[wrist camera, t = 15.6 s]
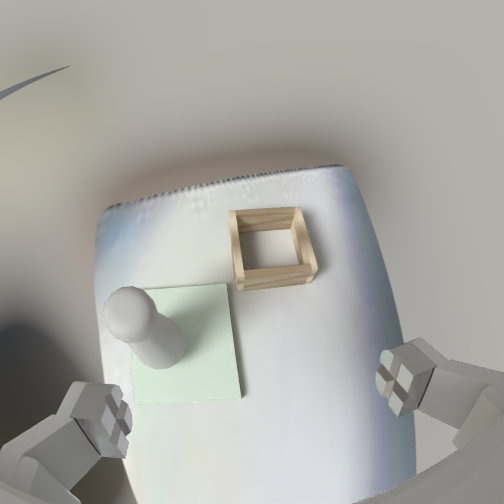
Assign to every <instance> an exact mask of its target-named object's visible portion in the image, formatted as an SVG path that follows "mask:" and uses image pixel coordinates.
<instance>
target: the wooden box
mask: <svg viewBox="0 0 504 504" xmlns="http://www.w3.org/2000/svg"><path fill="white" fill-rule="evenodd" d="M281 229H290V230H291V234H292V237H293V241H294V245H295V249H296V253H297V257H298V261H299V265H294V266H284V267H274V268H264V269H253V270H244V269H243V262H242V255H241V248H240V241H239V234H238V233H241V232H254V231H268V230H281ZM229 234H230V243H231V251H232V259H233V267H234V275H235V282H236V290H237V291H246V290H256V289H265V288H274V287H283V286H292V285H300V284H308V283H311V281H312V279H313V277H314V276H315V274H316V272H317V271H318V265H317V262H316V258H315V255H314V251H313V248H312V245H311V241H310V238H309V235H308V231H307V228H306V225H305V221H304V218H303V215H302V212H301V209H300V207H281V208H263V209H247V210H233V211H229Z"/></svg>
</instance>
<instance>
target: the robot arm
mask: <svg viewBox="0 0 504 504" xmlns="http://www.w3.org/2000/svg"><path fill="white" fill-rule="evenodd" d="M380 362H381V363H382V365H381V366H380V367H379V369H378V370H377V373H376V377H375V380H376V386H377V389H378V391H379V393H380V394H381V395H382V396H383V397H386V398H388V399H389V402H388V405H389V406H390V407H391V409H392V410H393V411H394V413H395V414H396V415H397V417H399V416H401V415H404V414H406V413H409V412H411V411H413V410H416V409H418V410H419V411H422V412H423V413H426V414H428V415H430V416H432V417H434V418H436V419H438V420H440V421H442V422H444V423H446V424H449V425H451V426H453V427H455V428H457V429H460V430H459V431H458V433H457V435H456V436H455V437H454V439H453V443H454V445H455V446H456V447H457V448H458V450H457V451H455V452H454V453H452V454H451V455H449V456H448V457H446V458H445V459H443V460H441V461H440V462H439V463H437V464H435V465H434V466H432V467H430V468H428V469H426V470H425V471H423V472H421V473H419V474H418V475H416V476H414V477H412V478H410V479H408V480H406V481H404V482H402V483H400V484H398V485H396V486H394V487H392V488H390V489H387V490H385V491H383V492H381V493H378V494H376V495H373V496H371V497H369V498H366V499H363V500H361V501H358V502H355V503H353V504H504V373H503V372H499V371H495V370H491V369H487V368H482V367H478V366H474V365H470V364H466V363H463V362H459V361H454V360H450V361H448V360H447V359H446V358H445V357H444V356H442V355H441V354H440V353H439V352H438V351H437V350H435V349H434V348H433V347H432V346H431V345H429V344H428V343H427V342H426V341H425V340H424V339H421V338H417V339H415V340H412V341H409V342H407V343H404V344H401V345H398V346H395V347H392V348H388V349H385V350H383V352H382V353H381V356H380ZM122 396H123V393H122V391H121V389H120V386H118V385H114V384H101V383H90V382H89V383H86V382H77V381H76V382H74V383H72V385H71V387H70V388H69V390H68V392H67V394H66V396H65V398H64V400H63V402H62V404H61V406H60V408H59V410H58V412H57V414H56V415H51V416H49V417H48V418H46V419H45V420H43V421H41V422H40V423H38V424H37V425H35V426H34V427H32V428H30V429H29V430H27V431H26V432H24V433H23V434H21V435H19V436H18V437H16V438H15V439H13V440H11V441H10V442H8V443H7V444H5V445H4V446H3V447H2V449H1V451H0V504H81V502H80V501H79V500H78V499H77V498H76V497H75V496H74V495H72V494H71V493H70V492H69V490H70V489H71V488H72V487H73V486H74V485H75V484H76V483H77V482H78V481H79V480H80V479H81V478H82V477H83V476H84V475H85V474H86V473H87V471H89V470H90V469H91V467H92V466H93V465H94V464H95V463H96V462H97V461H98V460H99V459H100V458H101V456H105V457H114V458H126V453H127V448H128V444H129V442H128V440H127V439H126V437H125V436H127V435H128V434H129V433H130V432H131V429H132V414H131V410H130V408H129V406H128V404H127V403H126V402H124V401H123V400H122Z"/></svg>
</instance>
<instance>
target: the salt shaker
mask: <svg viewBox="0 0 504 504" xmlns="http://www.w3.org/2000/svg"><path fill="white" fill-rule="evenodd" d="M103 318H104V323H105V326H106V327H107V329H108V330H109V331H110V332H111V334H112V335H113V336H114V337H115V338H117V339H119V340H121V341H123V342H126V343H128V344H129V346H130V347H131V349H132V350H133V352H134V353H135V355H136V357H137V358H138V359H139V360H140V361H141V362H142V363H143V364H144V365H146V366H148V367H150V368H153V369H155V370H158V369H167V368H170V367H172V366H173V365H175V364H177V363H178V362H179V361H180V359H181V357H182V356H183V354H184V351H185V342H186V340H185V337H184V335H183V332H182V329H181V328H180V327H179V326H178V325H177V324H176V323H175V322H174V321H173V320H171V319H169V318H167V317H166V316H164V315H162V314H161V313H159V312H158V311H157V308H156V305H155V302H154V300H153V299H152V298H151V297H150V296H149V295H148V294H147V293H146V292H145V291H144V290H142V289H139V288H136V287H133V286H131V287H121V288H120V289H118V290H117V291H115V292H113V293H112V294H111V295H110V297H109V298H108V299H107V301H106V302H105V306H104V311H103Z"/></svg>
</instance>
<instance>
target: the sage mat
mask: <svg viewBox="0 0 504 504" xmlns="http://www.w3.org/2000/svg"><path fill="white" fill-rule="evenodd" d="M144 291H145V292H146V293H147V294H148V295H149V296H150V297H151V298H152V299H153V300H154V302H155V305H156V308H157V311H158V312H159V313H161V314H162V315H164V316H166V317H167V318H169V319H171V320H173V321H174V322H175V323H176V324H177V325H178V326H179V327H180V328H181V329H182V332H183V335H184V337H185V340H186V342H185V351H184V354H183V356H182V357H181V359H180V361H179V362H178V363H177V364H175V365H173V366H172V367H170V368H167V369H158V370H155V369H153V368H150V367H148V366H146V365H144V364H143V363H142V362H141V361H140V360H139V359H138V358H137V357H136V355H135V353H134V352H133V350H132V349H131V351H132V376H133V392H134V404H183V403H202V402H215V401H226V400H236V399H241V392H240V385H239V378H238V371H237V364H236V357H235V349H234V342H233V334H232V326H231V318H230V310H229V302H228V293H227V284H226V283H223V284H212V285H201V286H189V287H176V288H163V289H149V290H144Z"/></svg>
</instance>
